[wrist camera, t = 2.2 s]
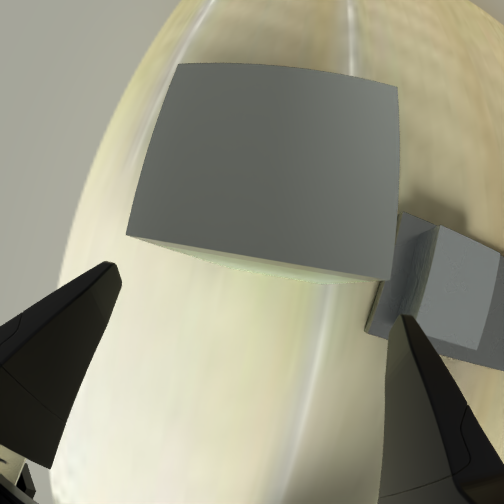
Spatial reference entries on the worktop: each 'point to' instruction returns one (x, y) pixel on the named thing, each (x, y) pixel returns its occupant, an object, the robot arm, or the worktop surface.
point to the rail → (394, 293)
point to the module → (274, 172)
